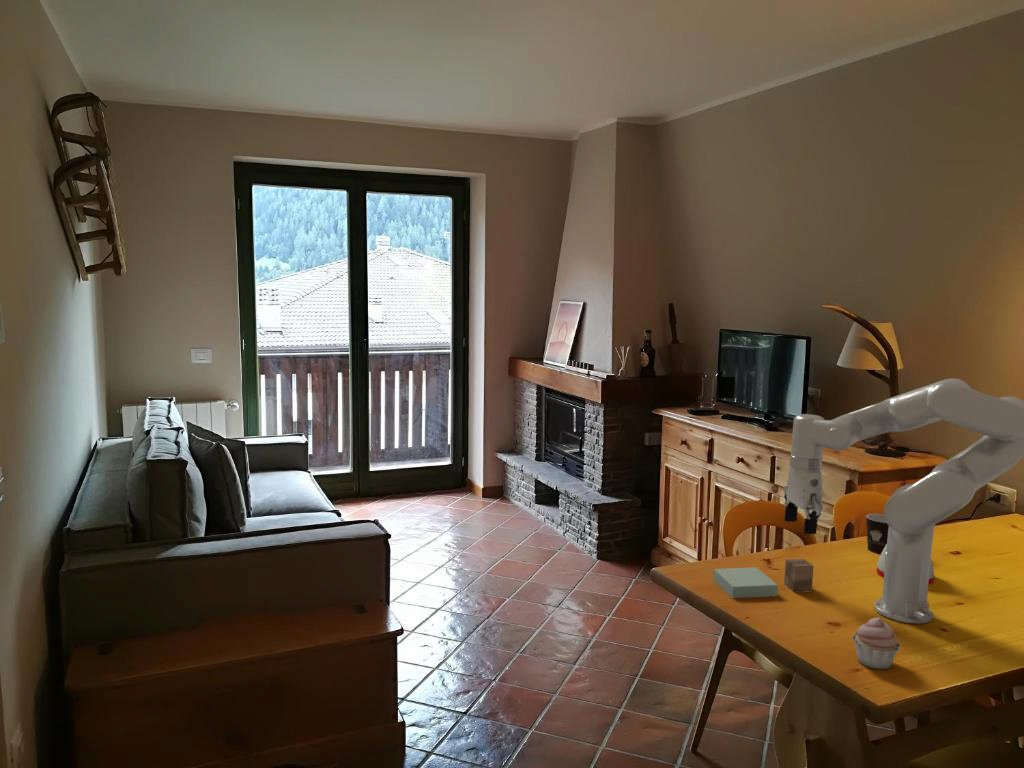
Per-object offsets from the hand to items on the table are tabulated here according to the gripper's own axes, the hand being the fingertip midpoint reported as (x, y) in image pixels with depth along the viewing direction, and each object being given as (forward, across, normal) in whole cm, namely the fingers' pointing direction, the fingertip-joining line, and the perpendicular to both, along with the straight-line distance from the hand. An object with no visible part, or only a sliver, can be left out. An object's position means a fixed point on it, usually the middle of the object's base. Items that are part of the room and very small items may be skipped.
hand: (799, 527), depth 195 cm
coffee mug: (+16, +22, -40) cm, 49 cm away
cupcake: (+16, -40, +3) cm, 43 cm away
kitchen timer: (+16, +4, -35) cm, 38 cm away
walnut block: (+16, -1, -1) cm, 16 cm away
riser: (+16, +1, +13) cm, 21 cm away
